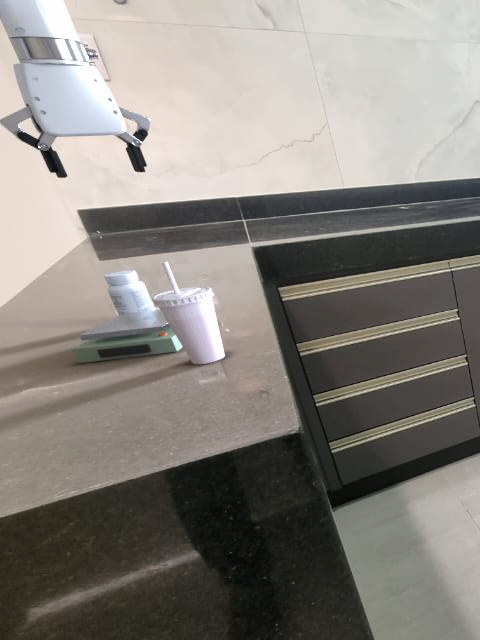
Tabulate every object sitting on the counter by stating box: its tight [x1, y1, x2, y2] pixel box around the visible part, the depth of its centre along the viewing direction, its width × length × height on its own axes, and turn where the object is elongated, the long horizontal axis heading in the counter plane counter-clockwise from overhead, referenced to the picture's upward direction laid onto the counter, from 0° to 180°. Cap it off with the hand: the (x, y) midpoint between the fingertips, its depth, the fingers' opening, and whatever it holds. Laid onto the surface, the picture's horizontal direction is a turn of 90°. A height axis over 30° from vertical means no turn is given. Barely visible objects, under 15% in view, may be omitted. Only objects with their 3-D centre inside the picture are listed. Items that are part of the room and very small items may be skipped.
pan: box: [79, 309, 170, 341], centre depth 80 cm, size 10×10×1 cm
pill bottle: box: [103, 269, 156, 315], centre depth 90 cm, size 5×5×8 cm
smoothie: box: [151, 261, 226, 365], centre depth 72 cm, size 6×6×14 cm
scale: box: [71, 327, 184, 364], centre depth 81 cm, size 12×12×2 cm
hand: (103, 174), depth 87 cm, fingers open, 9 cm apart
